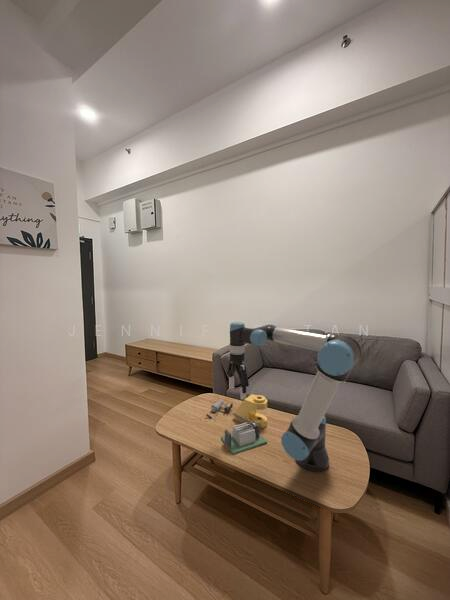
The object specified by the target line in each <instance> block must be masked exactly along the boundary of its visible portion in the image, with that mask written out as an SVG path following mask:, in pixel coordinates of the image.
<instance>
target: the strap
mask: <svg viewBox="0 0 450 600" xmlns="http://www.w3.org/2000/svg"><path fill="white" fill-rule="evenodd" d="M232 415H234V416H235V417H237V418H239V419H241V420H243V421H245V422H247V423H249V424H251V425H253V426H254V427H256V425H255V424H254V423H253V422H252V421H249V420H247V419H245V418H243V417H241V416H239V415H237V414H235V413H234V412H233V414H232Z"/></svg>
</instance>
